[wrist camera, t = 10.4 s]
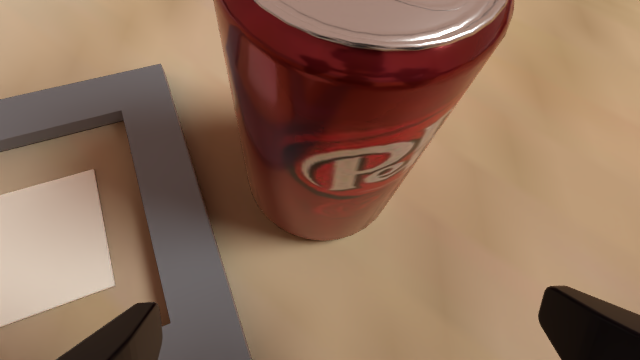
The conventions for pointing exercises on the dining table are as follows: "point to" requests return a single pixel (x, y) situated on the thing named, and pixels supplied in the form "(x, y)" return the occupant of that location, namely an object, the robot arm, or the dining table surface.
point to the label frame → (87, 220)
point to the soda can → (346, 97)
